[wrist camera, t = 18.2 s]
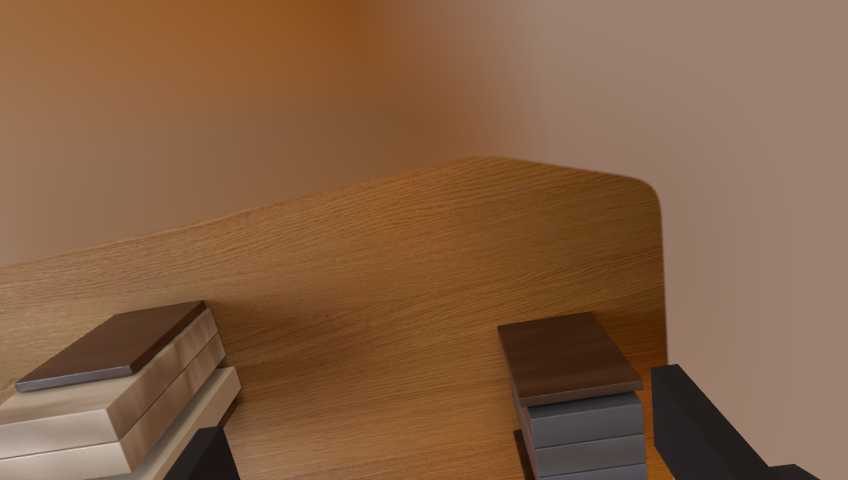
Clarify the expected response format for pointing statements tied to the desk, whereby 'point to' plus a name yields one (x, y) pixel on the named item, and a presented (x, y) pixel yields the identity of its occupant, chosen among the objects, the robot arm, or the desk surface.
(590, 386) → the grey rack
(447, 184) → the desk surface
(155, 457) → the cream book
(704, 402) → the robot arm
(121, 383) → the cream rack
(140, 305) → the desk surface
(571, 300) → the desk surface
